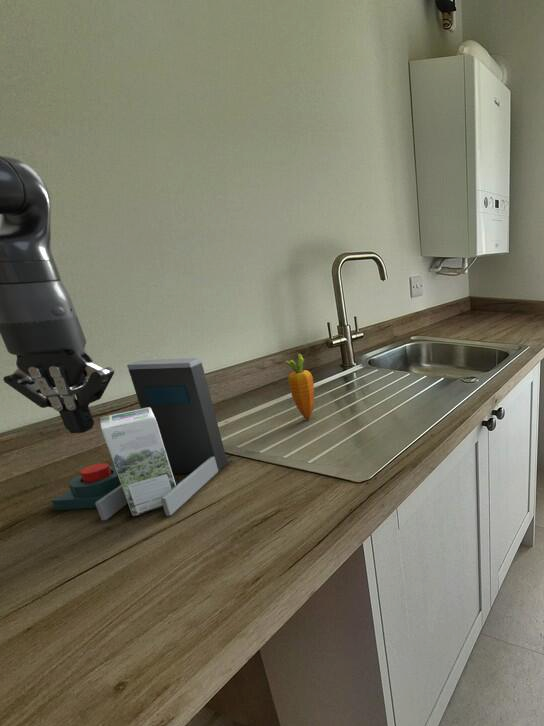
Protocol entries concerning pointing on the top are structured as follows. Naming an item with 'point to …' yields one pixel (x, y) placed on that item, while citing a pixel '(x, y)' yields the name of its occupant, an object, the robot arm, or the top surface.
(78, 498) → the control block
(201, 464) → the grey panel on legs
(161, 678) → the top surface
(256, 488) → the top surface
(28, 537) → the top surface
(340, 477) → the top surface
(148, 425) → the syrup box
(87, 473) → the stop button
